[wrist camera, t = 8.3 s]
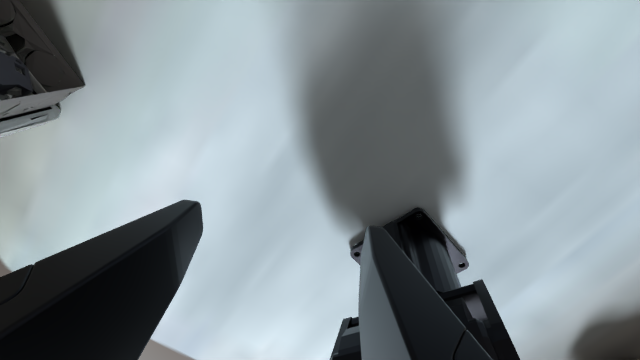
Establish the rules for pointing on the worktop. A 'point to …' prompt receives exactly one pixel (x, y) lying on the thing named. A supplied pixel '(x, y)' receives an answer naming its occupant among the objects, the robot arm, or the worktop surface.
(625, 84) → the worktop surface
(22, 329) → the robot arm
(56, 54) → the electrical switch
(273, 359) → the worktop surface
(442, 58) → the worktop surface
